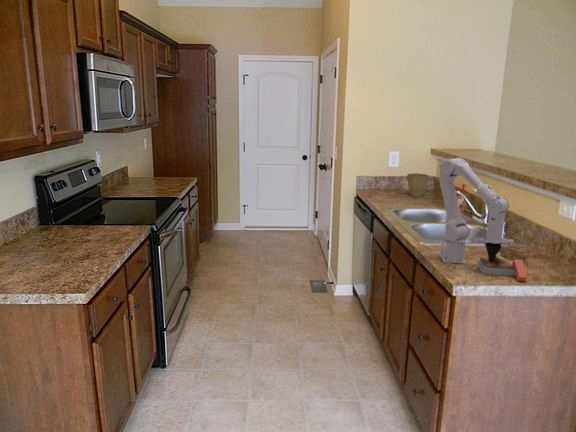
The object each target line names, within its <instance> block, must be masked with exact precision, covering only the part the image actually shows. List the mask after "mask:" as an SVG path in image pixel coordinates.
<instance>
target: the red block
mask: <svg viewBox="0 0 576 432" xmlns="http://www.w3.org/2000/svg"><path fill="white" fill-rule="evenodd" d="M512 262H513V263H512V265H513V268H514V272H515V275H516V276H515V279H516V281H517V282H526V281H527V280H528V278H529V277H528V275H527V271H526V268H525V265H524V264H523V261H522V260H516V259H514V261H512Z"/></svg>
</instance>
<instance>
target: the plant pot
mask: <svg viewBox="0 0 576 432" xmlns="http://www.w3.org/2000/svg"><path fill="white" fill-rule="evenodd" d="M429 176H430V175H429V174H425V173H417V172H416V173H407V185H408V190H409V193H410V196H411V197H413V196H415V197H414V198H422V196H423V194H424V192H425V189H426V186H427V183H428V180H429Z"/></svg>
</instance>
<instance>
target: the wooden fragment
mask: <svg viewBox="0 0 576 432" xmlns="http://www.w3.org/2000/svg"><path fill="white" fill-rule="evenodd" d="M501 246H502V247H501V249H500V250H499V251H498V253H500V256H501V257H503V258H505V259H506V260H507V261H510V262H513V261H514V259H516V260H522V261H523V264H524V266H530V264H529V261H528V260H527V258H526V256H525V255H524V253H523V252H521V251H517V250H515V249H512V248H509V247H506V246H504V245H501Z"/></svg>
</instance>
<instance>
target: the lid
mask: <svg viewBox="0 0 576 432" xmlns="http://www.w3.org/2000/svg"><path fill="white" fill-rule="evenodd" d="M479 260H481V261H482V263H483V264H484V265H485V266H486V267H492V268H509V269H513V266H512V265H511V264H510V263H509V262H510V261H509V260H508V259H507V258H499V257H498V256H497V255H496V256H495V259H494V261H493V262H490V261H489V260H488V257H480V258H479Z"/></svg>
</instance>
